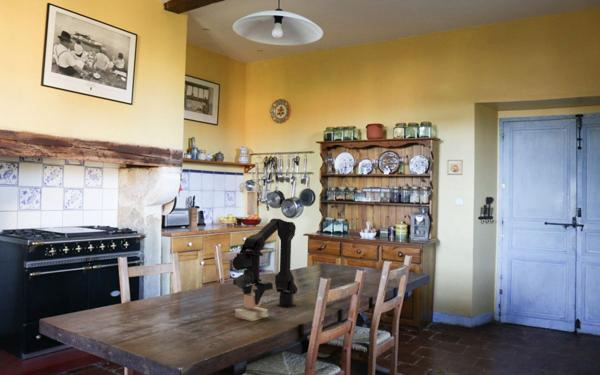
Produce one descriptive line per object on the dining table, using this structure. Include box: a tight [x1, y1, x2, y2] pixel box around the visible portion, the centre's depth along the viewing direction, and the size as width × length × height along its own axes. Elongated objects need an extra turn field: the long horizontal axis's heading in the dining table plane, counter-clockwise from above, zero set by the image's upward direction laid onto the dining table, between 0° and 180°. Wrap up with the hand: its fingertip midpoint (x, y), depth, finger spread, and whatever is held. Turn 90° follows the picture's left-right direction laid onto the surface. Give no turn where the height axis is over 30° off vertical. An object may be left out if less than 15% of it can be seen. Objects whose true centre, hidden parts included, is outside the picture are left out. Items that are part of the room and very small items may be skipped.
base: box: [234, 306, 269, 322], centre depth 206 cm, size 10×10×3 cm
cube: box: [243, 292, 261, 308], centre depth 206 cm, size 5×5×5 cm
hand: (252, 303), depth 206 cm, fingers closed on cube, 5 cm apart
